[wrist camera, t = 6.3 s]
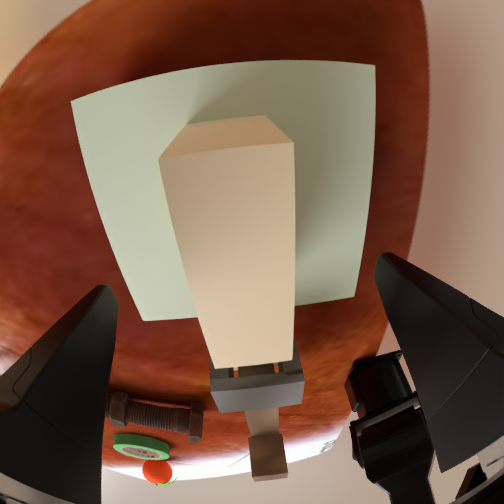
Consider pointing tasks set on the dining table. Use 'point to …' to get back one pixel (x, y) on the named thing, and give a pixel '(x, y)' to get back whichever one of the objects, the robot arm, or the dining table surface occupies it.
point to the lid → (235, 193)
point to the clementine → (157, 471)
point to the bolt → (155, 415)
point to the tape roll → (141, 447)
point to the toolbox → (258, 387)
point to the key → (264, 435)
